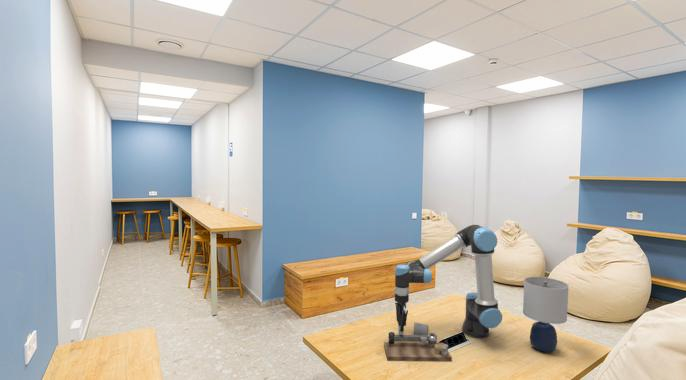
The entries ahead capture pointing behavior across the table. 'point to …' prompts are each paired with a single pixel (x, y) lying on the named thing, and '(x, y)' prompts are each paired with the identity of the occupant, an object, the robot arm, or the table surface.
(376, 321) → the table surface
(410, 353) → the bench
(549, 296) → the lamp
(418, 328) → the ceramic mug
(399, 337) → the lever
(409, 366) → the table surface
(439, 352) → the tan wooden cylinder
